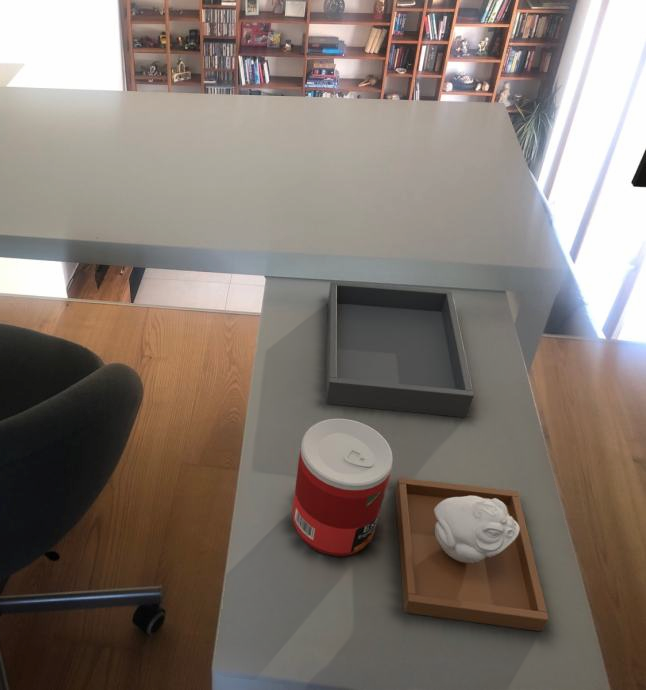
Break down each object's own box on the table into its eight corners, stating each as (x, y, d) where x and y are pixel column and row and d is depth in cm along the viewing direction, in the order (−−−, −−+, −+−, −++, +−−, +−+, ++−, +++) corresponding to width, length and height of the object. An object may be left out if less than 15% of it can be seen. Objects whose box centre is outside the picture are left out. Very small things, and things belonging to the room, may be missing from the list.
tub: (466, 417, 78) (474, 395, 76) (325, 403, 80) (329, 381, 78) (446, 311, 93) (452, 290, 90) (327, 302, 95) (330, 281, 92)
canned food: (368, 568, 64) (388, 495, 57) (283, 545, 66) (292, 471, 59) (378, 503, 69) (398, 429, 62) (299, 483, 71) (310, 409, 64)
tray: (541, 631, 59) (549, 620, 58) (404, 612, 61) (408, 600, 59) (512, 503, 69) (518, 491, 68) (394, 489, 71) (398, 477, 69)
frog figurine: (494, 594, 61) (517, 549, 57) (415, 560, 64) (431, 514, 59) (507, 541, 65) (530, 496, 61) (433, 511, 68) (449, 466, 63)
